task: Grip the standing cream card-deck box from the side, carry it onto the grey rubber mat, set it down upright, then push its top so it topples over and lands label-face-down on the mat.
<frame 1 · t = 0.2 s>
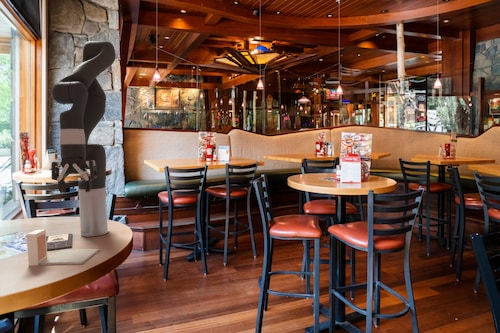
hand: (75, 192, 121), 18 cm above the table, tool pointing down, fingers open, 8 cm apart
deck box: (38, 262, 105), on the table
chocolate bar: (57, 244, 125), on the table
mat: (71, 257, 109), on the table
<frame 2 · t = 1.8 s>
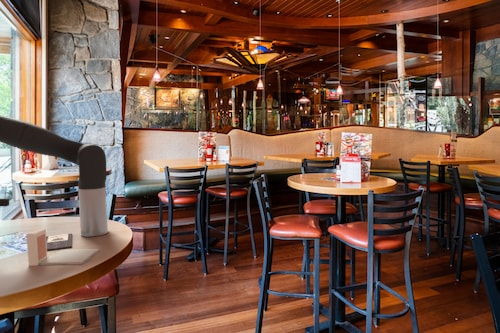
nothing on the table moved.
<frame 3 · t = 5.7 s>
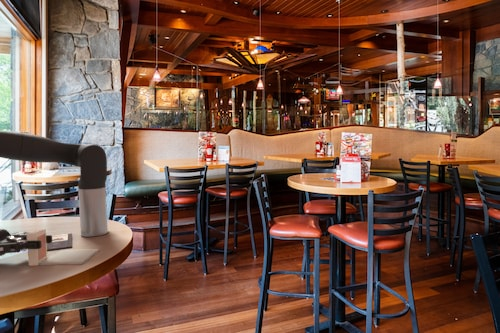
hand: (46, 241, 104), 6 cm above the table, tool horizontal, fingers closed on deck box, 5 cm apart
deck box: (38, 262, 105), on the table, touching gripper
everything else where it was.
when the fingers open (7 cm above the table, at t = 10.0 s): deck box stays where it is, resting on mat.
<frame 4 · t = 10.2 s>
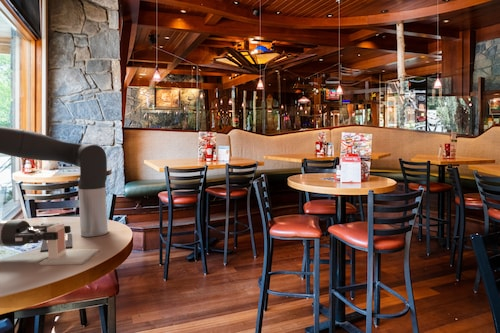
hand: (63, 232, 108), 8 cm above the table, tool horizontal, fingers open, 6 cm apart
deck box: (57, 255, 109), point 1 cm above the table, touching mat
everything else where it was.
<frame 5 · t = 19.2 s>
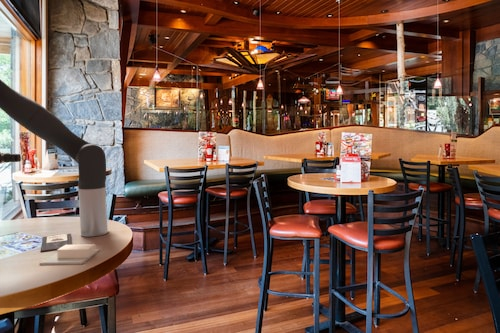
hand: (19, 157, 107), 30 cm above the table, tool horizontal, fingers closed
deck box: (61, 251, 109), point 2 cm above the table, tilted 90°, touching mat
everything else where it was.
at the end: deck box tilted 90°; deck box inside the target area (2.8 cm from its centre), point 1.9 cm above the table; the gripper is holding nothing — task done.
